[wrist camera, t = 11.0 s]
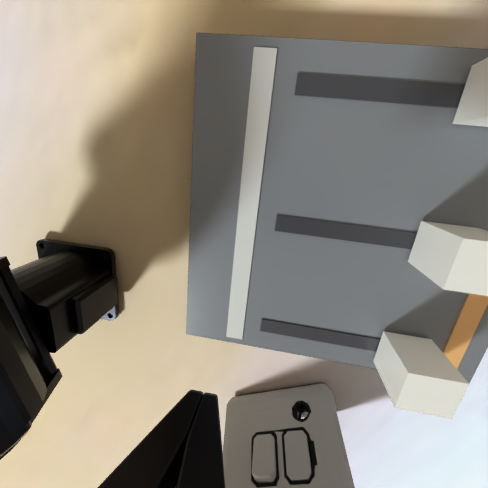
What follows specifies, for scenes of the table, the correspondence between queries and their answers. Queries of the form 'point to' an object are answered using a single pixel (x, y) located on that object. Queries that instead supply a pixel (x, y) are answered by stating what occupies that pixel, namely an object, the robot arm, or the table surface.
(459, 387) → the handle
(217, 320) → the breaker panel
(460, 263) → the handle middle
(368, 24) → the table surface
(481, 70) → the handle
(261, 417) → the electrical switch
